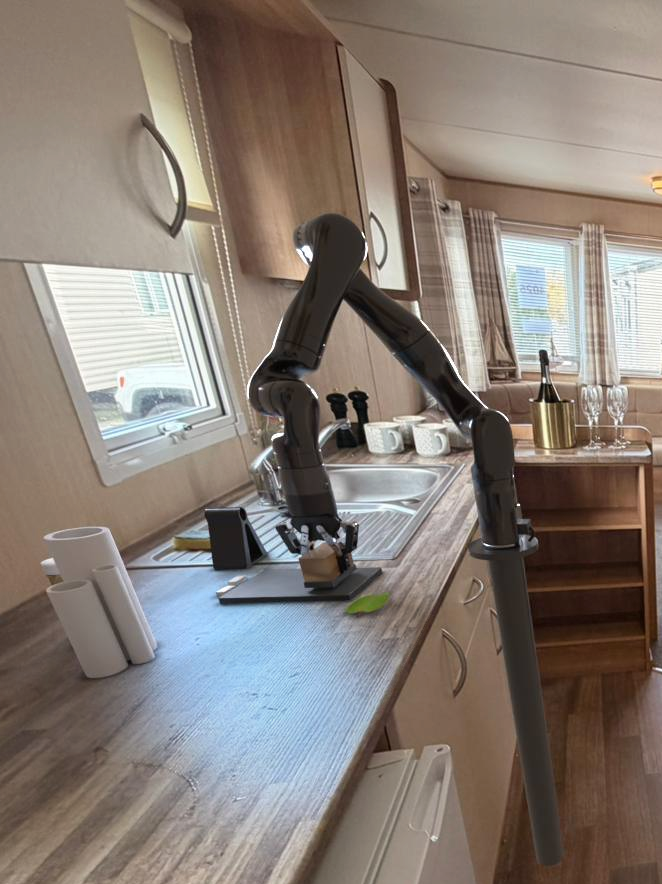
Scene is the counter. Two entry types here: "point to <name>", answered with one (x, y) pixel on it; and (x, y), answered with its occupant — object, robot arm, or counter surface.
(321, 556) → the eraser
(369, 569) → the memo board
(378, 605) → the decorative leaf
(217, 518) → the phone stand
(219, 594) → the small white block
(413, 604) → the counter surface
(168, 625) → the counter surface
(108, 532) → the vase
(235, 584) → the small white block
